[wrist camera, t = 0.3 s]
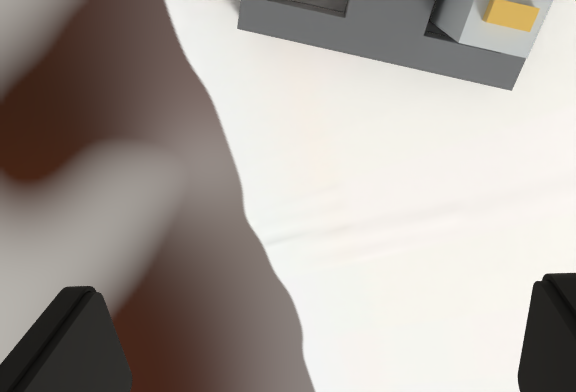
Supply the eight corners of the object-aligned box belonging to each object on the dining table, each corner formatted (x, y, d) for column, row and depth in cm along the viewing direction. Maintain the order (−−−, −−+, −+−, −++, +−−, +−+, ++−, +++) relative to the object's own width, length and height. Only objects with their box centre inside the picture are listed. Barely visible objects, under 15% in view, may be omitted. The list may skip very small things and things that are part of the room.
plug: (449, -39, 32) (491, -35, 23) (505, -27, 32) (568, -17, 23) (429, 20, 34) (461, 45, 25) (482, 32, 34) (532, 61, 25)
